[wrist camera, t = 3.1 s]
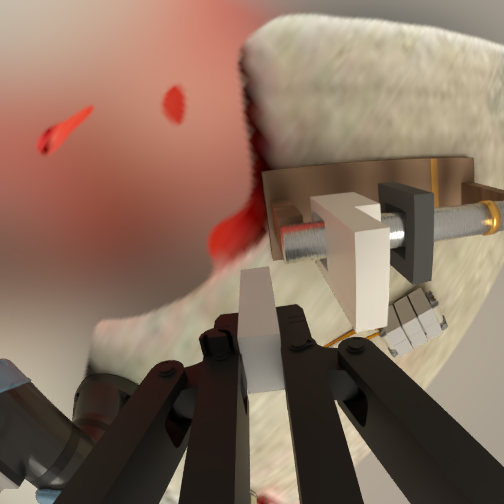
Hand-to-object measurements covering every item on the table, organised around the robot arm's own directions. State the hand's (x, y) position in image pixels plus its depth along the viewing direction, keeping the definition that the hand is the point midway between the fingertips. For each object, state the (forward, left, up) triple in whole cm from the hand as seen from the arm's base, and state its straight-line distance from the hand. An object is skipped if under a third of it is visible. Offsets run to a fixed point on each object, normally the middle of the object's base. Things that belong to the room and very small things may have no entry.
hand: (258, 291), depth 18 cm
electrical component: (+13, -20, -21) cm, 31 cm away
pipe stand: (+16, 0, -20) cm, 26 cm away
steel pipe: (+16, 0, -10) cm, 19 cm away
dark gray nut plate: (+13, 0, -12) cm, 17 cm away
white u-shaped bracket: (+7, 0, -11) cm, 13 cm away
